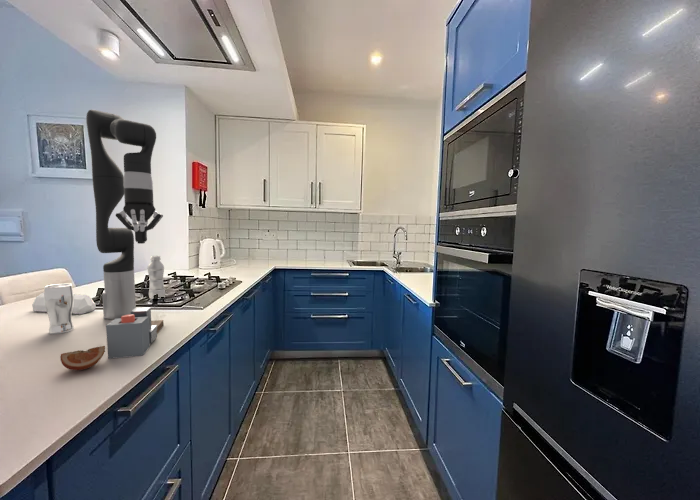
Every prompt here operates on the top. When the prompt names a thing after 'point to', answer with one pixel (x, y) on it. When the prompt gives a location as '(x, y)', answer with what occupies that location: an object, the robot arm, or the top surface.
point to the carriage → (147, 312)
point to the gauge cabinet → (127, 338)
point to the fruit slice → (82, 358)
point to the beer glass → (59, 307)
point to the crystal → (79, 306)
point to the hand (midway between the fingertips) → (141, 243)
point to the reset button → (128, 318)
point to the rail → (158, 324)
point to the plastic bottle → (156, 277)
